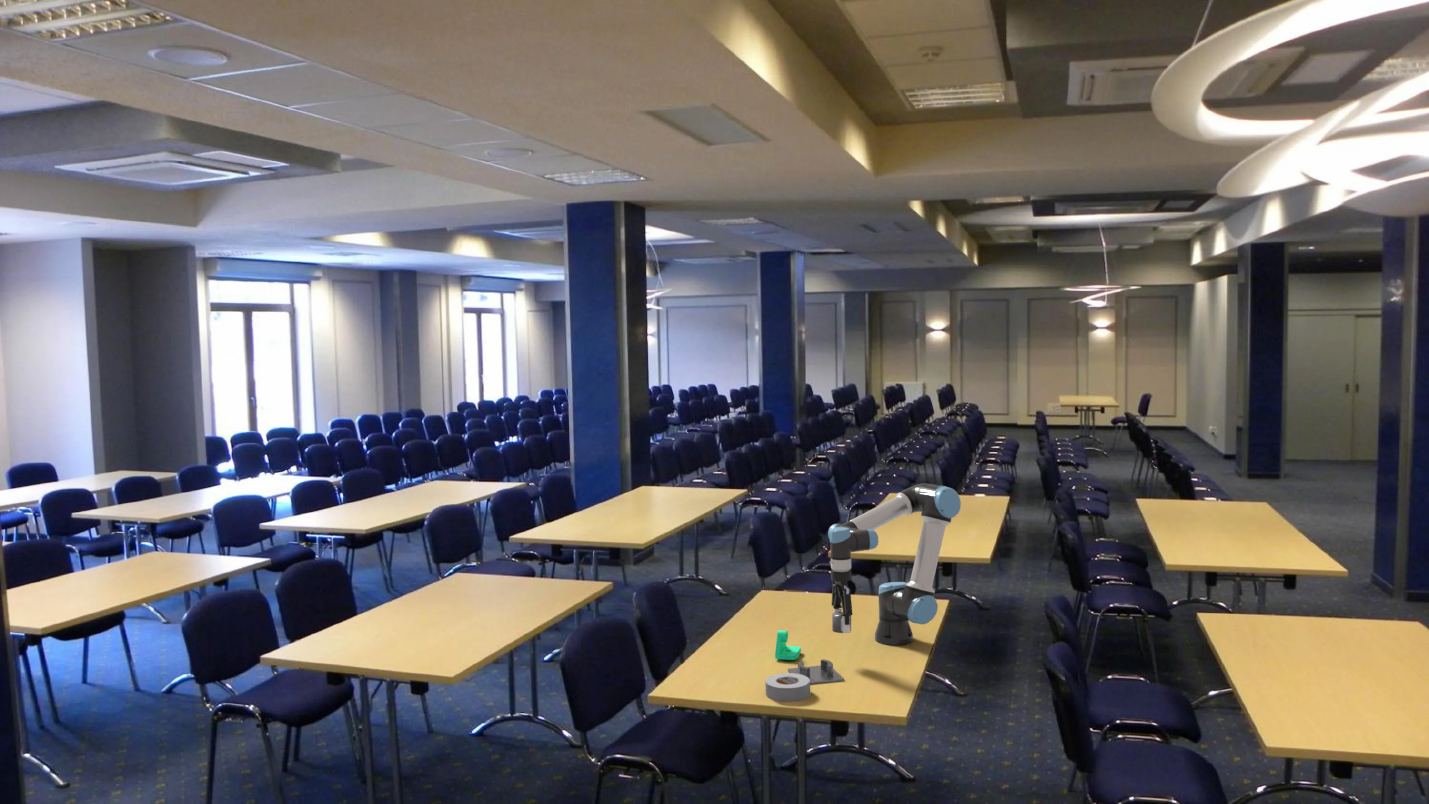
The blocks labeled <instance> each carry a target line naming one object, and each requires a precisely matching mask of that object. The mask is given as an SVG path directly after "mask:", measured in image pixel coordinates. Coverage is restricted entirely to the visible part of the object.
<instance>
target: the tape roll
mask: <svg viewBox="0 0 1429 804" xmlns="http://www.w3.org/2000/svg"><path fill="white" fill-rule="evenodd" d="M764 682H765V685H764V686H765V696H766V697H767V698H768V699H770V700H773V701H777V702H782V703H794V702H795V703H796V702H801V701H805V700H807V699H808V698H810V697H811V684H810V679H809V678H808V677H806V676H804V675H801V674H795V673H789V672H785V673H776V674H773V675H770V676H768V677H767V678H766V679H765V681H764Z"/></svg>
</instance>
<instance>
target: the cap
mask: <svg viewBox="0 0 1429 804" xmlns="http://www.w3.org/2000/svg"><path fill="white" fill-rule="evenodd" d="M842 615H843V611H842V612H836V613H834V612H833V613H831V616H832V617H831V618H832V619H831V620H832V629H831V630H832V632H834V633H837V634H844V633H843V624H842ZM850 633H852V615H850Z"/></svg>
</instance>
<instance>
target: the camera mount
mask: <svg viewBox="0 0 1429 804" xmlns="http://www.w3.org/2000/svg"><path fill="white" fill-rule="evenodd" d="M788 640H789V631H788V630H782V629H781V630H780V629H779V630H777V634H776V642H775V643H776V644H775V652H774V653H775V654H774V659H775V660H787V661H789V660H790V661H794V660H798V659H799V658H800V655H801V652H802V647H801V646H796V645H787V644H786V643H788Z"/></svg>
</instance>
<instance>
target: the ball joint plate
mask: <svg viewBox="0 0 1429 804" xmlns="http://www.w3.org/2000/svg"><path fill="white" fill-rule="evenodd" d="M804 662H805V661H799V662H798V663H797V667H791V668H787V673H795V674H801V675H804V676H806V677H808V678H809V679H810V685H817V684H825V683H834V682H835V683H836V682H844V681H845V678H844V677H843V675H841V674H840V673H839V672H838V671H836V670H835V668H834V663H833V662H832V661H830V660H828V659H826V658H825V659H824V658H823V659H821V660H820V665H813V666H805V665H804V664H805V663H804Z"/></svg>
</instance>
